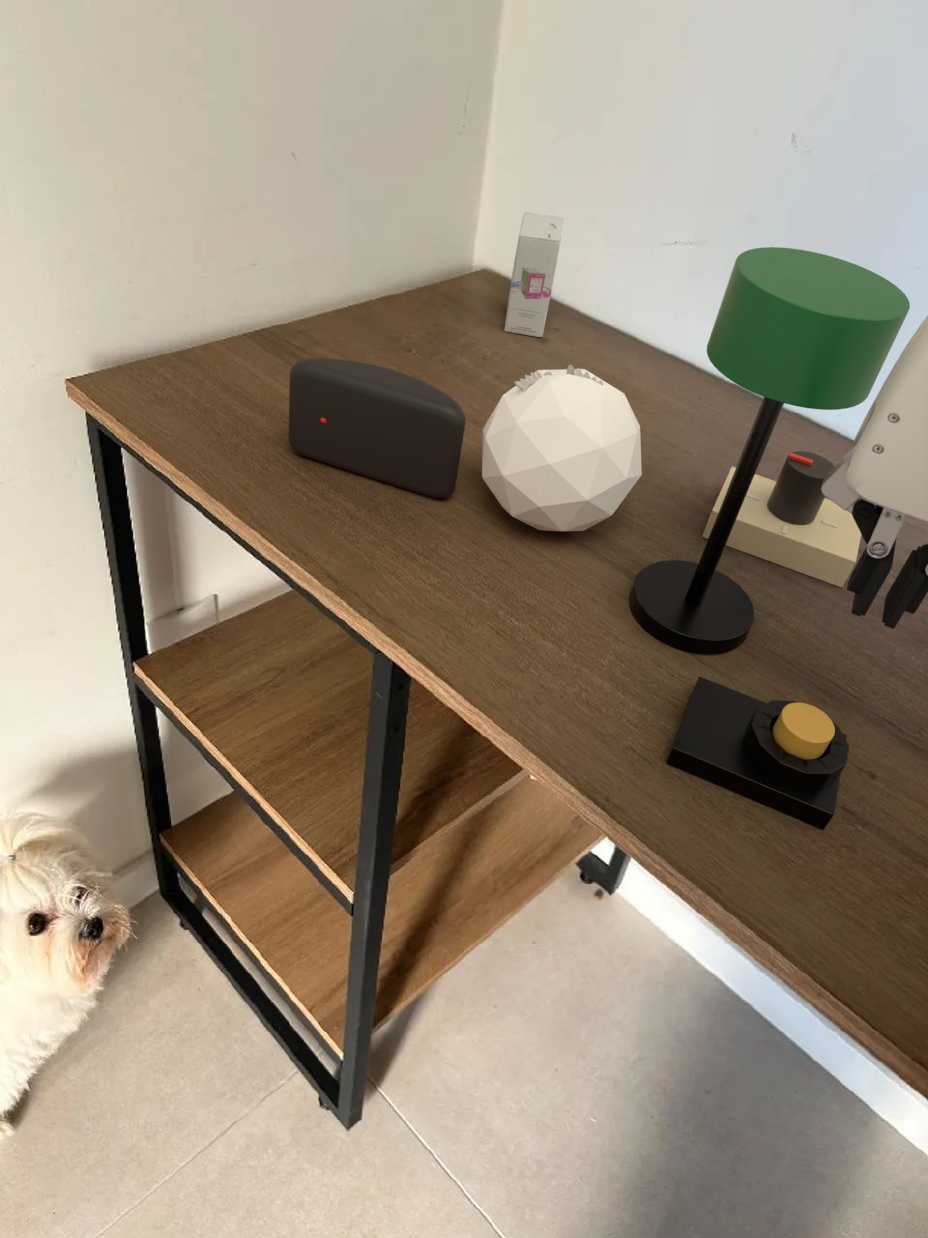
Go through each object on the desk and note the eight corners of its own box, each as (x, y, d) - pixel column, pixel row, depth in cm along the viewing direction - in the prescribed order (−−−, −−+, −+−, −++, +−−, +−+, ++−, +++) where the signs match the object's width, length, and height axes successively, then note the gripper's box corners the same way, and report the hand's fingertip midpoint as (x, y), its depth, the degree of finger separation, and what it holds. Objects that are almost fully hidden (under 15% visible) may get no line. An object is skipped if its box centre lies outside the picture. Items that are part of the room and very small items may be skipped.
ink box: (506, 303, 119) (523, 208, 111) (545, 310, 119) (564, 215, 111) (501, 331, 112) (519, 232, 105) (542, 338, 112) (563, 240, 105)
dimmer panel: (852, 537, 89) (866, 510, 87) (842, 588, 83) (857, 560, 81) (721, 491, 92) (732, 464, 90) (701, 536, 85) (712, 508, 83)
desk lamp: (764, 600, 80) (915, 279, 61) (740, 678, 72) (904, 337, 53) (643, 555, 82) (753, 233, 64) (606, 625, 74) (719, 281, 56)
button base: (837, 750, 67) (858, 718, 65) (823, 830, 62) (845, 798, 59) (692, 691, 70) (706, 658, 68) (665, 763, 64) (680, 730, 62)
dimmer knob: (817, 507, 86) (841, 458, 83) (811, 530, 83) (835, 481, 80) (771, 491, 87) (792, 442, 84) (763, 513, 84) (784, 464, 81)
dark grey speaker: (465, 482, 87) (481, 391, 80) (448, 507, 83) (463, 414, 77) (306, 432, 89) (310, 340, 83) (284, 455, 86) (286, 360, 79)
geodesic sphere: (455, 509, 73) (592, 379, 67) (421, 414, 83) (538, 295, 78) (572, 592, 82) (701, 483, 76) (529, 497, 92) (640, 396, 87)
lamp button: (827, 732, 64) (838, 715, 63) (821, 767, 62) (831, 750, 60) (776, 712, 65) (786, 694, 64) (768, 746, 62) (777, 728, 61)
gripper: (1209, 335, 44) (1006, 620, 56) (884, 244, 48) (758, 532, 60) (1240, 396, 39) (1008, 698, 51) (871, 289, 42) (735, 595, 54)
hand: (874, 607), depth 55 cm, fingers closed
